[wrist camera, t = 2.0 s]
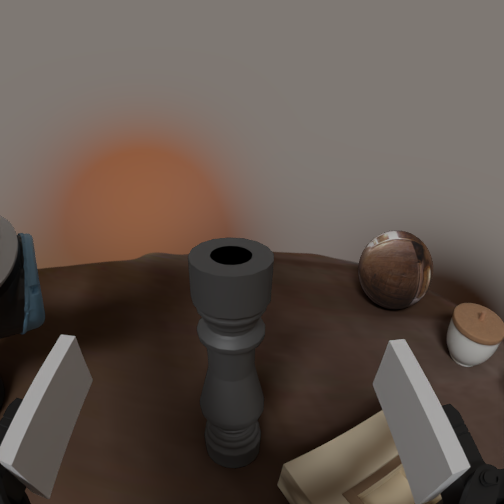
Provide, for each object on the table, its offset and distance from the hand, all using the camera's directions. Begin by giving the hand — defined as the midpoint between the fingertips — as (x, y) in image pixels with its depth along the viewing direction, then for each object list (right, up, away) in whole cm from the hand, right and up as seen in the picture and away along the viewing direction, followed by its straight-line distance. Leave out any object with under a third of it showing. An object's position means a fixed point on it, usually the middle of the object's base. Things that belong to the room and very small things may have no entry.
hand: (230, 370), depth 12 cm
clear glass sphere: (+28, -6, +48) cm, 56 cm away
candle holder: (-1, -18, +20) cm, 27 cm away
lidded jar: (+38, -14, +32) cm, 52 cm away
